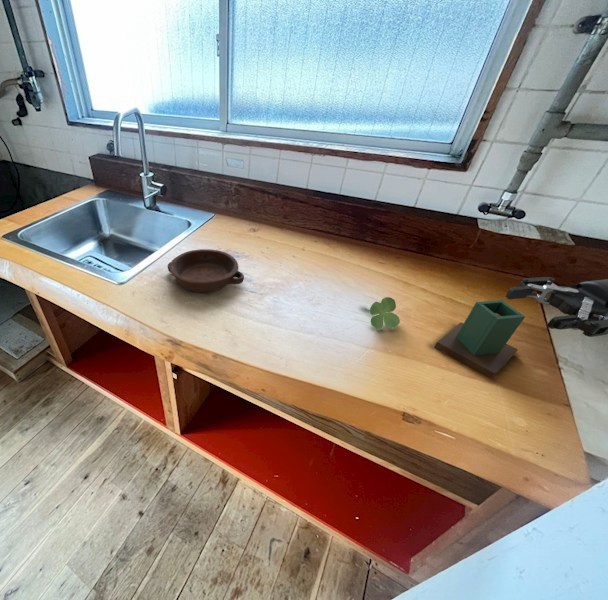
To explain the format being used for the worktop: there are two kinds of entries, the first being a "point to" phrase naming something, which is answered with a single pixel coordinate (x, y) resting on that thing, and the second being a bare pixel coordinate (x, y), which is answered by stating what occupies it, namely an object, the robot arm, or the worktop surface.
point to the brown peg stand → (481, 363)
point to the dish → (205, 270)
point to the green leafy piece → (384, 314)
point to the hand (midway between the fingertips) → (528, 307)
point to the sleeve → (489, 327)
